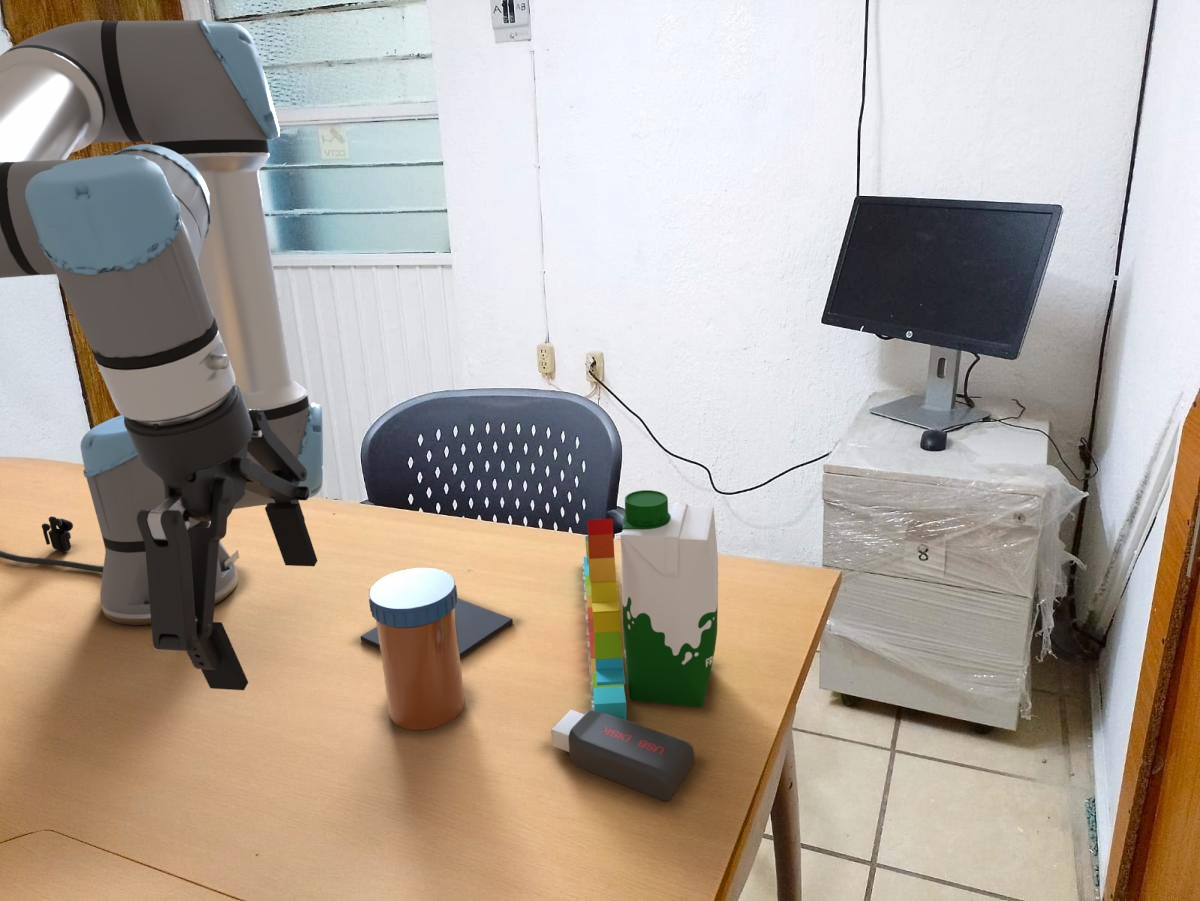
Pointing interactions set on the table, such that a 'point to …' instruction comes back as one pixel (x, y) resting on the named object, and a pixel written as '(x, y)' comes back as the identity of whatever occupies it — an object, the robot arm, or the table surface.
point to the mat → (464, 627)
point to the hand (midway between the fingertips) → (268, 619)
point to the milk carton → (668, 598)
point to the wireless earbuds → (58, 533)
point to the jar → (422, 673)
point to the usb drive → (624, 752)
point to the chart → (603, 621)
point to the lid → (413, 597)
